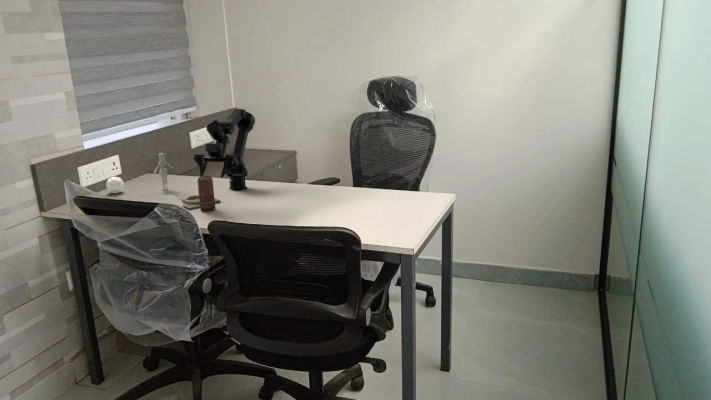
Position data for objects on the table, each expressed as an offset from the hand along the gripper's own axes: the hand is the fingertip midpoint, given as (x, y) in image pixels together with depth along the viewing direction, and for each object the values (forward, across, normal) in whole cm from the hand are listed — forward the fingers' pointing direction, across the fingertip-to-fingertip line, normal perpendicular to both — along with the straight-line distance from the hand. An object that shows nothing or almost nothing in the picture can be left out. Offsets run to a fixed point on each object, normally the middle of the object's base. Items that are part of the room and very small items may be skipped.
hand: (211, 176), depth 238 cm
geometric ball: (-1, -56, +19) cm, 59 cm away
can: (+13, 0, +5) cm, 14 cm away
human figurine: (-6, -34, +24) cm, 42 cm away
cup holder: (+6, -10, +12) cm, 17 cm away
